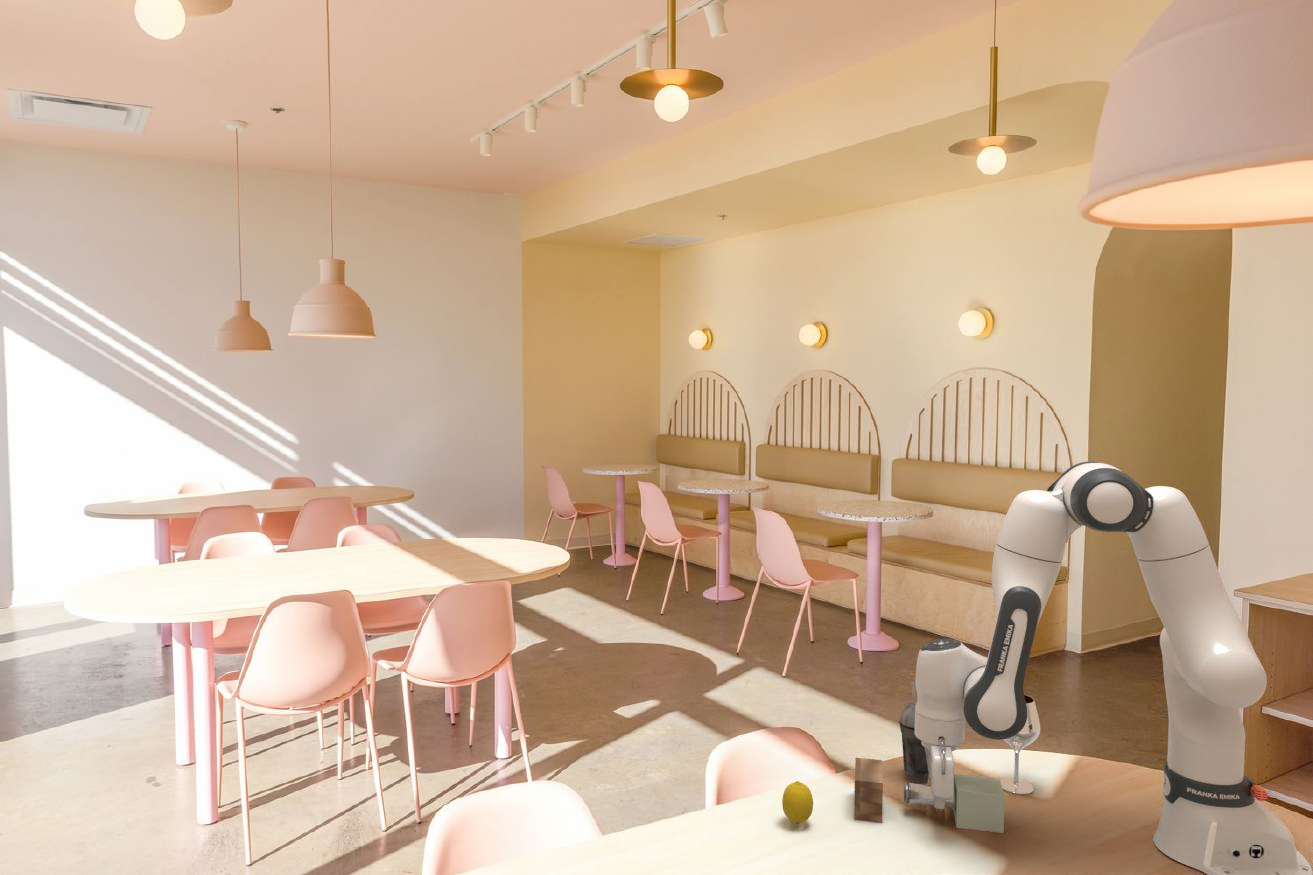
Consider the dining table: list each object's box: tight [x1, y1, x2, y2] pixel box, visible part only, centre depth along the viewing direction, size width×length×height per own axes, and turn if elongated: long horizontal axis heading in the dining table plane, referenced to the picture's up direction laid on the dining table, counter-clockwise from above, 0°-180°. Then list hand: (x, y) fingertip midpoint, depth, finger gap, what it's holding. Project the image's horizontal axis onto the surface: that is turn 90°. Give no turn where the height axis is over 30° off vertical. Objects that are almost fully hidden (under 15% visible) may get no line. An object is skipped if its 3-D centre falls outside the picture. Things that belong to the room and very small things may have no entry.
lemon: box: [781, 780, 814, 825], centre depth 160 cm, size 6×6×8 cm
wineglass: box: [1000, 694, 1041, 795], centre depth 174 cm, size 8×8×18 cm
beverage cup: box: [898, 681, 929, 785], centre depth 177 cm, size 7×7×20 cm
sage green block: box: [952, 773, 1006, 834], centre depth 161 cm, size 8×7×7 cm
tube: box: [903, 782, 957, 810], centre depth 162 cm, size 16×4×4 cm, turn 76°
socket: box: [853, 757, 884, 824], centre depth 165 cm, size 5×10×8 cm, turn 166°
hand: (938, 800), depth 162 cm, fingers closed on tube, 4 cm apart
